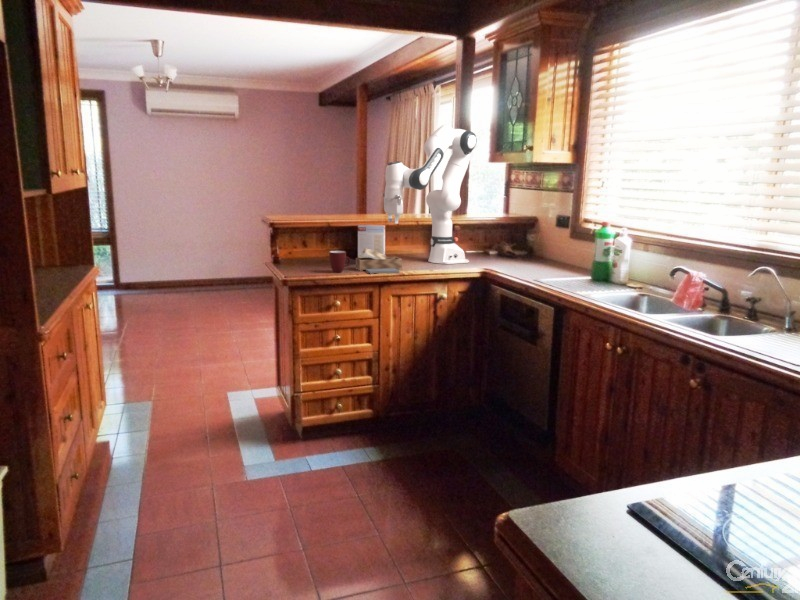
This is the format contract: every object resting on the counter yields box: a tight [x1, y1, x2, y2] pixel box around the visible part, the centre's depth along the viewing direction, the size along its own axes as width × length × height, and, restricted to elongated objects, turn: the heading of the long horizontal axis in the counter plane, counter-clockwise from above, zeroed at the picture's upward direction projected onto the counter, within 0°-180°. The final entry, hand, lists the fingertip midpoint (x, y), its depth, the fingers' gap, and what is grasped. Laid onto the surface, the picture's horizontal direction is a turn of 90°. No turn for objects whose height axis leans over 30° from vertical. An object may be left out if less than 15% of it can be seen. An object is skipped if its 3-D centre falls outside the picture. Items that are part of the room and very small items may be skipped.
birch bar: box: [363, 248, 387, 259], centre depth 309 cm, size 11×4×2 cm, turn 109°
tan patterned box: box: [355, 256, 403, 272], centre depth 311 cm, size 22×8×6 cm, turn 109°
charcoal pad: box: [365, 268, 400, 275], centre depth 303 cm, size 15×8×1 cm, turn 109°
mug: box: [328, 250, 351, 274], centre depth 300 cm, size 10×8×10 cm
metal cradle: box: [361, 252, 379, 259], centre depth 311 cm, size 19×6×2 cm, turn 109°
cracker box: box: [357, 224, 386, 258], centre depth 326 cm, size 14×6×21 cm, turn 84°
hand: (393, 222), depth 309 cm, fingers open, 8 cm apart
